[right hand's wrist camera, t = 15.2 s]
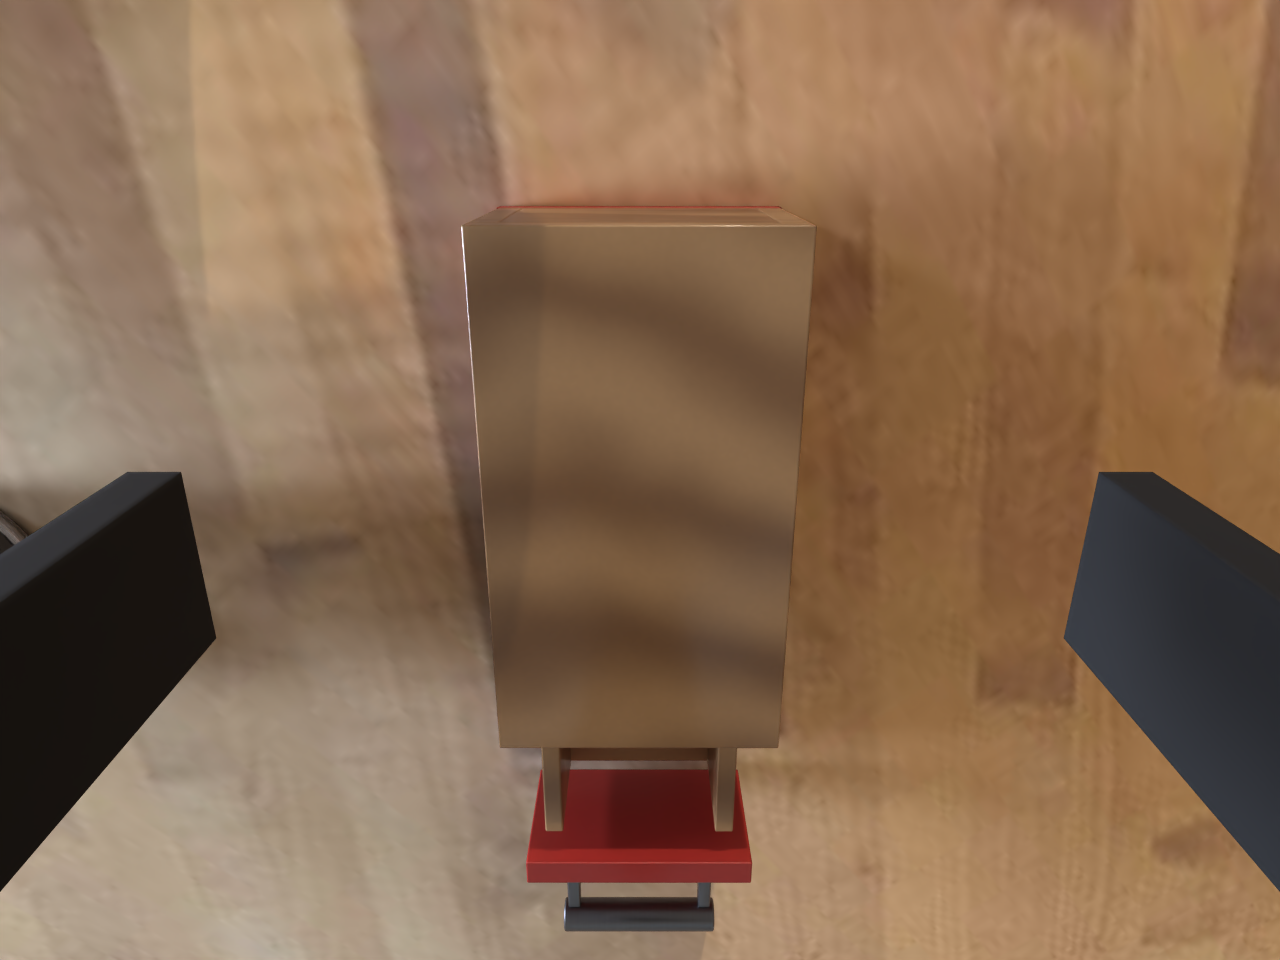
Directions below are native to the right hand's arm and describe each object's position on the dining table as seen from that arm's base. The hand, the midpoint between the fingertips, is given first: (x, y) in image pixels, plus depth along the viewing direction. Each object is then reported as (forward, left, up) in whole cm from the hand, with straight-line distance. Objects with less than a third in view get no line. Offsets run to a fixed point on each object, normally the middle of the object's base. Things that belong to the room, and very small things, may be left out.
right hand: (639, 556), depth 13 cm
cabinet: (+1, -7, -26) cm, 26 cm away
